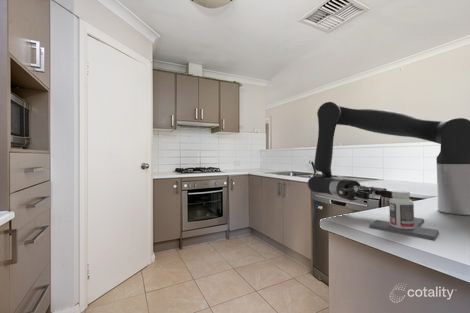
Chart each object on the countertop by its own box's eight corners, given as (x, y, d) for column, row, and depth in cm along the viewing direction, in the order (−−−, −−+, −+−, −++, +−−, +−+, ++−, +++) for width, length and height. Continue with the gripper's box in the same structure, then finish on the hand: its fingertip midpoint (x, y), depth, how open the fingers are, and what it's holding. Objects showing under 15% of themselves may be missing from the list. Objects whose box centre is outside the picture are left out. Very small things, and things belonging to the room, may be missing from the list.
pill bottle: (415, 226, 60) (414, 191, 61) (412, 231, 57) (411, 193, 57) (392, 222, 64) (391, 189, 64) (387, 227, 61) (386, 191, 61)
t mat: (387, 215, 75) (387, 213, 75) (443, 224, 65) (443, 221, 65) (369, 227, 63) (369, 224, 63) (434, 239, 53) (434, 236, 53)
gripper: (327, 179, 82) (359, 184, 66) (360, 178, 85) (399, 182, 69) (327, 199, 82) (360, 209, 66) (361, 197, 85) (400, 206, 69)
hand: (380, 195), depth 67 cm, fingers open, 8 cm apart
